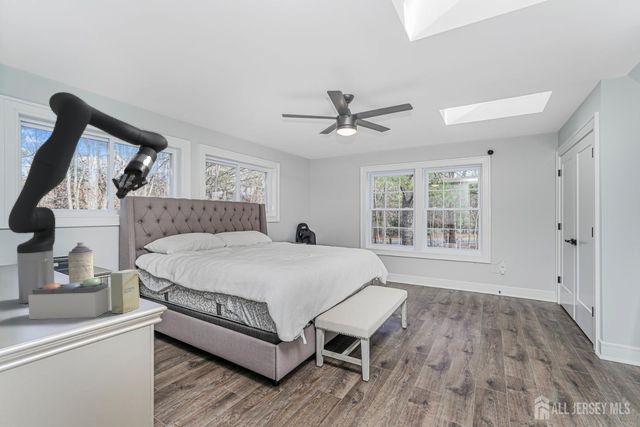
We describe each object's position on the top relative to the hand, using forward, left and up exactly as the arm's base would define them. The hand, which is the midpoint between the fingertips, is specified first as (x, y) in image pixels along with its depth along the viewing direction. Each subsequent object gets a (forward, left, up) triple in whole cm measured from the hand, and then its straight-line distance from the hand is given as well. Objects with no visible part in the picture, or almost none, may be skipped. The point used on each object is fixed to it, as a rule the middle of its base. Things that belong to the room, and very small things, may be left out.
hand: (119, 197), depth 103 cm
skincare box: (+15, -8, -36) cm, 40 cm away
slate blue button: (+2, -16, -29) cm, 33 cm away
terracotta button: (-3, -19, -29) cm, 35 cm away
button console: (+2, -16, -36) cm, 39 cm away
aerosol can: (-15, -5, -36) cm, 39 cm away
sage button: (+8, -14, -28) cm, 32 cm away
